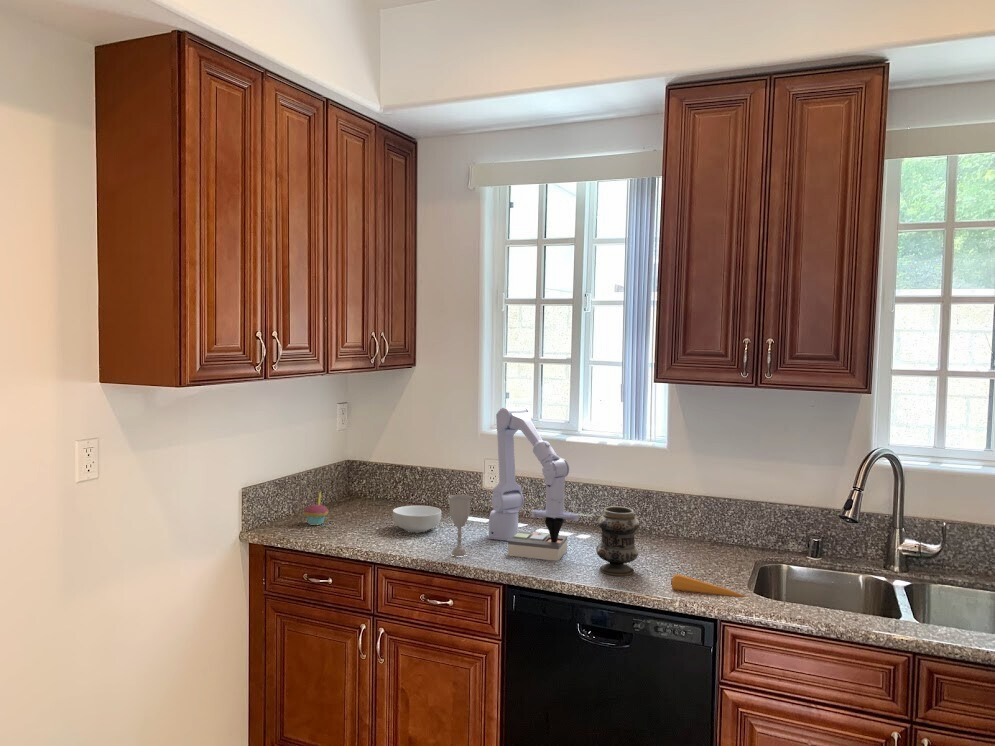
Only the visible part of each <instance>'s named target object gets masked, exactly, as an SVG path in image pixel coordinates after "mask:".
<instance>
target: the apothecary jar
mask: <svg viewBox="0 0 995 746" xmlns="http://www.w3.org/2000/svg"><path fill="white" fill-rule="evenodd" d="M597 524H598V527H599V528H600V529H601V538H600V542H599V543H598V545H597V546H596V549H595V550H596V554H597V555H598V557H599V558H601V559H602V560H603V561H605V562H608V563H606V564H603V565H601V566H600V567H599V571H600V572H601V573H603V574H605V575H610V576H614V577H615V576H616V577H624V576H631V575H633V574H634V571H635V570H634V568H632V567H631V566H629V565H628V563H631V562H633V561H635V560H636V559H637V558H638V556H639V549H638V548H637V546H636V545H635V535H636V534H635V533H636V531H637V530H638V529H639V527H640V521H639V519H638V518H637V517H636V516H635V511H634V509H632V508H631V507H626V506H620V505H619V506H618V505H613V506H612V505H610V506H606V507H604V510H603V513H602V515H600V516H599V518H598V520H597Z"/></svg>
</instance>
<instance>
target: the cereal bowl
mask: <svg viewBox="0 0 995 746" xmlns="http://www.w3.org/2000/svg"><path fill="white" fill-rule="evenodd" d="M441 518H442V510H441V508H438V507H435V506H431V505H404V506H400V507H399V506H398V507H395V508H394V509H393V510H392V521H393V522H394V524H395V525H396V526H397V527H398V528H400V529H402V530H404V531H405V530H406V531H409V532H408V533H410V532H423V533H426V532H428V531H429V530H430V529H433V528H435V527H437V526H438V525H439V523H440V522H441ZM427 530H428V531H427ZM406 531H405V532H406ZM425 531H426V532H425Z"/></svg>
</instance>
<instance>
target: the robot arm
mask: <svg viewBox="0 0 995 746" xmlns="http://www.w3.org/2000/svg"><path fill="white" fill-rule="evenodd" d="M495 417H496V418H495V420H496V433H497V434H496V435H497V455H498V456H497V457H498V479H499V482H498V484H496V486H495V487H493V489H492V497H491V506H492V508H493V510H491V511H490V513H489V519H488V537H487V538H488V539H489V540H496V541H497V540H499V541H507V542H508V540H509V539H511V538H512V537H513V536H514V535H515V534H516V533H517V532H519V512H521V508H523V506H524V503H525V498H524V495H523V490H522V486H521V485H520V484H518V483H517V481H516V466H515V465H516V464H515V440H514V437H515V436H514V435H515V434H516V433H517V432H518V431H520V432H521V433H522V434H523V435H524V436H525V437H526V439H527V440H528V441H529V443H530V444H531V445H532V446H533V447H532V452H533V454H534V456H535V457H536V458H537V460H538V461H539V464H541V466H542V469H541V470H542V475H543V476H544V477H543V478H544V483H545V484H546V485H545V509H532V510H531V518H539V519H540V518H542V519H545V520H544V524H545V525H546V528H547V529H548V530H547V531H548V533H549V534H550V537H551V542H557V539H558V535H559V534H560V532H561V528H562V526H563V523H564V522H565V521H573V522H578V521H579V513H574V512H568V511H565V495H566V493H565V492H566V491H565V489H566V486H565V485H566V484H565V483H566V477H568V475H569V473H570V466H569V463H568V462H567V460H566V459H565V458H562V457H561V456H558V454H557V453H556V451H555V450H554V448H553V447H552V445H551V443H550V442H549V441H547V440H543V439H542V437H541V435H540V433H539V432H538V430H537V428H536V426H535V425H534V423H533V421H532V419H533V418H532V417H533V415H532V413H531V412H530V410H529V409H528V407H526V406H518V407H517V406H516V407H501V408H500V409H499V410H498V411H497V413H496V414H495Z"/></svg>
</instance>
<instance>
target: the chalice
mask: <svg viewBox="0 0 995 746" xmlns="http://www.w3.org/2000/svg"><path fill="white" fill-rule="evenodd" d="M448 499H449V514H450V515H449V516H450V518H451V520H452V522H453V524H454V526H455V527H457V533H456V535H457V538H456V540H457V545H456V546H455V547H454V548H453V549H452V552H451V554H452V555H454V556H464V555H467V556H468V553H467V551H466V548H465V547H464V546H462V541H463V538H462V534H463V533H462V528H463V527H464V526H465V525H466V523H467V521H468V519H469V516H470V514H471V500H472V495H469V494H451V495H448Z"/></svg>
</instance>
